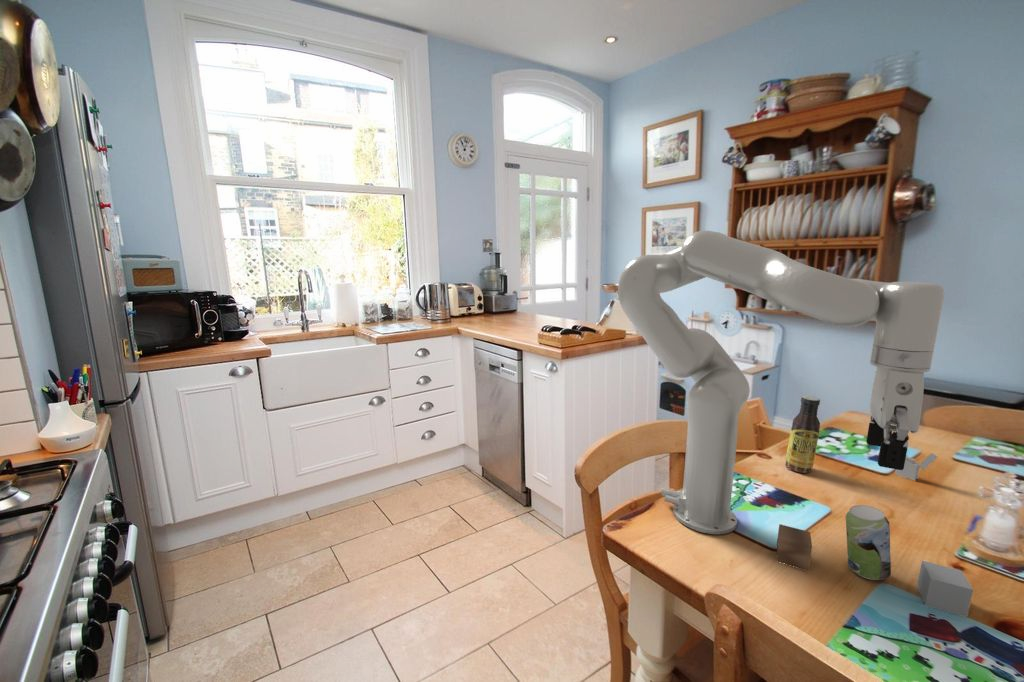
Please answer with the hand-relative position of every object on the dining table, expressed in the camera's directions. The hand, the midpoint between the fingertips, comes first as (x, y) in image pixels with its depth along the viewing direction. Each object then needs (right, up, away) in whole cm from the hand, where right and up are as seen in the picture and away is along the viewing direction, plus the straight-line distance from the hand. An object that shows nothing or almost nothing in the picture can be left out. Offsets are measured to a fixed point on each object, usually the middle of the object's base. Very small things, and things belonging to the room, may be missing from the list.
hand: (883, 455), depth 77 cm
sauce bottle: (+13, -15, +43) cm, 47 cm away
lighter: (+39, -16, +38) cm, 56 cm away
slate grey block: (+7, -23, -2) cm, 25 cm away
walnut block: (-11, -21, +8) cm, 25 cm away
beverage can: (0, -22, +4) cm, 23 cm away
